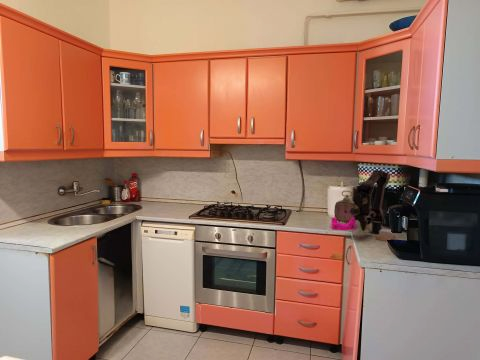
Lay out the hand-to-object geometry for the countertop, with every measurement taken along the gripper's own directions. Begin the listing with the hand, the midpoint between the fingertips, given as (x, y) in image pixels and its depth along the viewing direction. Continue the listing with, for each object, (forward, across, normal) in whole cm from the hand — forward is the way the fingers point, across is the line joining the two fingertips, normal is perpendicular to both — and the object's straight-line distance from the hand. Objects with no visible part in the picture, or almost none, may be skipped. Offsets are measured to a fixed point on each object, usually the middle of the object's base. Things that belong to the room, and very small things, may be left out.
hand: (364, 229), depth 189 cm
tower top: (+3, -5, +11) cm, 13 cm away
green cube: (+1, 0, 0) cm, 1 cm away
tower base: (+6, -5, +11) cm, 13 cm away
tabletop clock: (+5, -22, -21) cm, 31 cm away
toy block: (+6, -13, -19) cm, 23 cm away
